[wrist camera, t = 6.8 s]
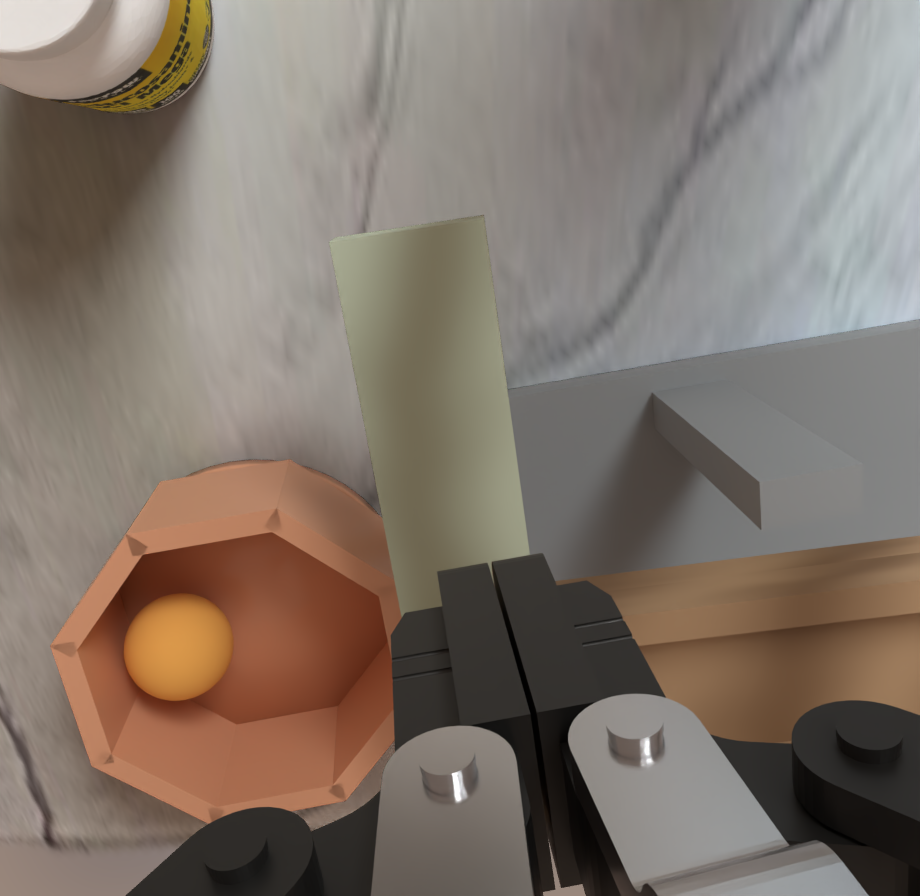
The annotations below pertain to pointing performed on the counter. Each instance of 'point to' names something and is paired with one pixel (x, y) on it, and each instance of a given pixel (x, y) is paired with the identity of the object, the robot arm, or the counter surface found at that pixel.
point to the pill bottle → (105, 50)
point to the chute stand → (724, 454)
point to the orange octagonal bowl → (245, 642)
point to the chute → (635, 593)
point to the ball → (178, 647)
